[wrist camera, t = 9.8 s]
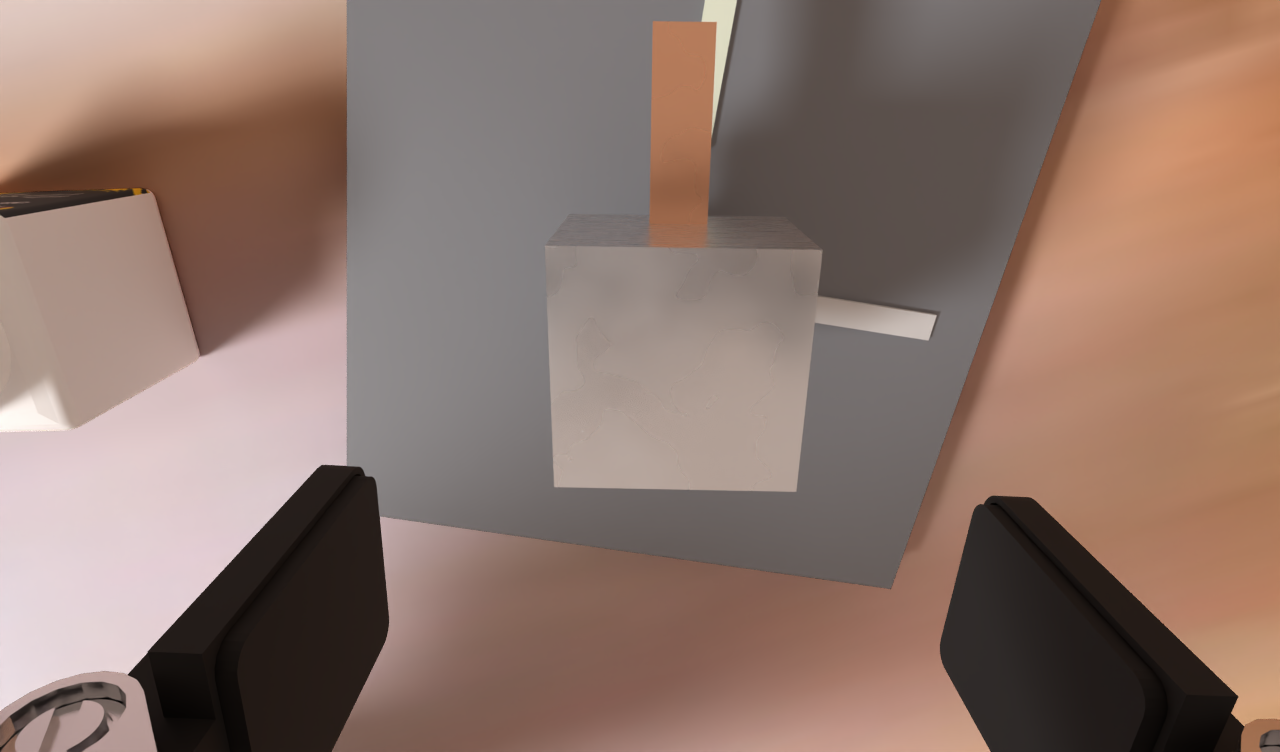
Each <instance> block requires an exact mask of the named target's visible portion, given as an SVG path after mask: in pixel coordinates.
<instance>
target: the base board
mask: <svg viewBox="0 0 1280 752" xmlns="http://www.w3.org/2000/svg"><path fill="white" fill-rule="evenodd" d="M1100 2H1101V0H347V466H357V467H361V468H362V469H363V471H364V473H365V476H372V477H373V478H374V479H375V481H376V485H377V494H378V505H379V516H381V517H388V518H395V519H402V520H409V521H416V522H423V523H430V524H437V525H444V526H451V527H458V528H465V529H472V530H479V531H486V532H493V533H500V534H507V535H514V536H521V537H528V538H535V539H542V540H549V541H556V542H563V543H570V544H577V545H584V546H591V547H599V548H606V549H613V550H620V551H627V552H634V553H641V554H648V555H655V556H662V557H669V558H676V559H683V560H690V561H697V562H704V563H711V564H718V565H725V566H732V567H739V568H746V569H753V570H760V571H767V572H774V573H781V574H788V575H795V576H802V577H809V578H816V579H823V580H831V581H838V582H845V583H852V584H859V585H866V586H873V587H880V588H887V589H891V587H892V584H893V582H894V579H895V576H896V573H897V570H898V568H899V565H900V562H901V559H902V556H903V554H904V551H905V548H906V545H907V542H908V540H909V537H910V534H911V531H912V528H913V526H914V523H915V520H916V517H917V514H918V512H919V509H920V506H921V503H922V500H923V498H924V495H925V492H926V489H927V486H928V484H929V481H930V478H931V475H932V472H933V470H934V467H935V464H936V461H937V458H938V456H939V453H940V450H941V447H942V444H943V442H944V439H945V436H946V433H947V430H948V428H949V425H950V422H951V419H952V416H953V414H954V411H955V408H956V405H957V402H958V400H959V397H960V394H961V391H962V388H963V386H964V383H965V380H966V377H967V374H968V372H969V369H970V366H971V363H972V360H973V358H974V355H975V352H976V349H977V346H978V344H979V341H980V338H981V335H982V332H983V330H984V327H985V324H986V321H987V318H988V316H989V313H990V310H991V307H992V304H993V302H994V299H995V296H996V293H997V290H998V288H999V285H1000V282H1001V279H1002V276H1003V274H1004V271H1005V268H1006V265H1007V262H1008V260H1009V257H1010V254H1011V251H1012V248H1013V246H1014V243H1015V240H1016V237H1017V234H1018V232H1019V229H1020V226H1021V223H1022V220H1023V218H1024V215H1025V212H1026V209H1027V206H1028V204H1029V201H1030V198H1031V195H1032V192H1033V190H1034V187H1035V184H1036V181H1037V178H1038V176H1039V173H1040V170H1041V167H1042V164H1043V162H1044V159H1045V156H1046V153H1047V150H1048V148H1049V145H1050V142H1051V139H1052V136H1053V134H1054V131H1055V128H1056V125H1057V122H1058V120H1059V117H1060V114H1061V111H1062V108H1063V106H1064V103H1065V100H1066V97H1067V94H1068V92H1069V89H1070V86H1071V83H1072V80H1073V78H1074V75H1075V72H1076V69H1077V66H1078V64H1079V61H1080V58H1081V55H1082V52H1083V50H1084V47H1085V44H1086V41H1087V38H1088V36H1089V33H1090V30H1091V27H1092V24H1093V22H1094V19H1095V16H1096V13H1097V10H1098V8H1099V5H1100ZM653 21H679V22H717V29H716V51H715V72H714V93H713V115H712V136H711V157H710V179H709V200H708V216H755V217H785V218H786V219H787V220H788V221H790V222H791V223H792V224H793V225H794V226H795V227H797V228H798V229H799V230H800V231H801V232H802V233H804V234H805V235H806V236H807V237H808V238H809V239H811V240H812V241H813V242H814V243H815V244H816V245H818V246H819V247H820V248H821V249H822V250H823V251H822V261H821V270H820V279H819V288H818V297H817V306H816V316H815V325H814V334H813V343H812V352H811V361H810V371H809V380H808V389H807V398H806V407H805V417H804V426H803V435H802V444H801V453H800V462H799V472H798V481H797V490H796V492H778V491H727V490H676V489H624V488H573V487H554V470H553V445H552V419H551V393H550V368H549V342H548V317H547V291H546V265H545V245H546V243H547V242H548V241H549V240H550V238H551V237H552V236H553V234H554V233H555V232H556V230H557V229H558V228H559V227H560V225H561V224H562V223H563V221H564V220H565V219H566V217H567V216H568V215H569V214H617V215H650V157H651V96H652V36H653Z"/></svg>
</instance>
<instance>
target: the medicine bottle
mask: <svg viewBox="0 0 1280 752" xmlns="http://www.w3.org/2000/svg"><path fill="white" fill-rule="evenodd" d="M199 356H200V353H199V349H198V346H197V342H196V339H195V335H194V332H193V328H192V325H191V321H190V318H189V314H188V311H187V307H186V304H185V300H184V297H183V293H182V290H181V286H180V283H179V279H178V276H177V272H176V269H175V265H174V262H173V258H172V255H171V251H170V248H169V244H168V241H167V237H166V234H165V230H164V227H163V223H162V220H161V216H160V212H159V209H158V205H157V202H156V198H155V196H154V194H153V193H152V192H151V191H150V190H148V189H143V188H127V189H99V190H71V191H43V192H15V193H0V432H23V431H63V430H72V429H75V428H78V427H80V426H82V425H83V424H85V423H87V422H89V421H91V420H92V419H94V418H96V417H98V416H99V415H101V414H103V413H105V412H107V411H108V410H110V409H112V408H114V407H115V406H117V405H119V404H121V403H123V402H124V401H126V400H128V399H130V398H132V397H133V396H135V395H137V394H139V393H140V392H142V391H144V390H146V389H148V388H149V387H151V386H153V385H155V384H156V383H158V382H160V381H162V380H164V379H165V378H167V377H169V376H171V375H173V374H174V373H176V372H178V371H180V370H181V369H183V368H185V367H187V366H189V365H190V364H192V363H194V362H196V360H197V359H198V358H199Z"/></svg>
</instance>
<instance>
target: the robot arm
mask: <svg viewBox="0 0 1280 752" xmlns="http://www.w3.org/2000/svg"><path fill="white" fill-rule="evenodd" d="M388 627H389V613H388V602H387V591H386V580H385V570H384V559H383V548H382V537H381V527H380V516H379V505H378V494H377V485H376V481H375V479H374V478H373V477H372V476H365V473H364V471H363V469H362V468H361V467H357V466H335V465H321V466H320V467H319V468H317V469H316V471H315V472H314V473H313V474H312V475H311V476H310V477H309V478H308V479H307V480H306V481H305V482H304V483H303V485H302V486H301V487H300V488H299V489H298V490H297V491H296V492H295V493H294V494H293V495H292V496H291V497H290V499H289V500H288V501H287V502H286V503H285V504H284V505H283V506H282V507H281V508H280V509H279V510H278V512H277V513H276V514H275V515H274V516H273V517H272V518H271V519H270V520H269V521H268V522H267V523H266V524H265V526H264V527H263V528H262V529H261V530H260V531H259V532H258V533H257V534H256V535H255V536H254V537H253V538H252V540H251V541H250V542H249V543H248V544H247V545H246V546H245V547H244V548H243V549H242V550H241V551H240V553H239V554H238V555H237V556H236V557H235V558H234V559H233V560H232V561H231V562H230V563H229V564H228V565H227V567H226V568H225V569H224V570H223V571H222V572H221V573H220V574H219V575H218V576H217V577H216V578H215V579H214V581H213V582H212V583H211V584H210V585H209V586H208V587H207V588H206V589H205V590H204V591H203V592H202V593H201V595H200V596H199V597H198V598H197V599H196V600H195V601H194V602H193V603H192V604H191V605H190V606H189V608H188V609H187V610H186V611H185V612H184V613H183V614H182V615H181V616H180V617H179V618H178V619H177V620H176V622H175V623H174V624H173V625H172V626H171V627H170V628H169V629H168V630H167V631H166V632H165V633H164V634H163V636H162V637H161V638H160V639H159V640H158V641H157V642H156V643H155V644H154V645H153V646H152V647H151V649H150V650H149V651H148V653H147V654H146V655H145V656H144V658H143V659H142V660H141V661H140V662H139V663H138V664H137V665H136V666H135V667H134V668H133V669H132V670H131V672H130V673H129V674H128V675H127V674H125V673H118V672H109V671H101V672H92V673H83V674H79V675H75V676H72V677H68V678H65V679H61V680H58V681H55V682H52V683H50V684H48V685H46V686H43V687H41V688H39V689H36V690H34V691H32V692H30V693H28V694H26V695H25V696H23V697H21V698H20V699H18V700H16V701H15V702H13V703H11V704H10V705H8V706H6V707H5V708H4V709H2V710H1V711H0V752H332V750H333V748H334V746H335V743H336V741H337V739H338V737H339V735H340V733H341V731H342V729H343V727H344V725H345V723H346V721H347V719H348V717H349V715H350V713H351V711H352V709H353V707H354V705H355V703H356V701H357V699H358V697H359V694H360V692H361V690H362V688H363V686H364V684H365V682H366V680H367V678H368V676H369V674H370V672H371V670H372V668H373V666H374V664H375V662H376V660H377V658H378V656H379V654H380V652H381V650H382V647H383V645H384V643H385V641H386V637H387V633H388ZM940 654H941V660H942V663H943V666H944V668H945V670H946V672H947V673H948V675H949V677H950V679H951V681H952V682H953V684H954V686H955V688H956V690H957V691H958V693H959V695H960V697H961V699H962V701H963V702H964V704H965V706H966V708H967V710H968V711H969V713H970V715H971V717H972V719H973V720H974V722H975V724H976V726H977V728H978V729H979V731H980V733H981V735H982V737H983V738H984V740H985V742H986V744H987V746H988V747H989V749H990V751H991V752H1280V720H1278V719H1256V720H1254V721H1252V722H1250V723H1248V724H1246V725H1245V727H1244V726H1243V725H1242V724H1241V723H1240V722H1239V721H1238V720H1237V719H1236V718H1235V717H1234V716H1233V715H1232V714H1231V712H1232V710H1233V707H1234V705H1235V703H1236V701H1237V699H1238V696H1237V695H1236V694H1235V693H1234V692H1233V691H1232V690H1231V689H1230V688H1229V687H1228V686H1227V685H1226V684H1225V683H1224V682H1223V681H1222V680H1221V679H1220V678H1218V677H1217V676H1216V675H1215V674H1214V673H1213V672H1212V671H1211V670H1210V669H1209V668H1208V667H1207V666H1206V665H1205V664H1204V663H1203V662H1202V661H1201V660H1200V659H1199V658H1198V657H1197V656H1196V655H1195V654H1194V653H1193V652H1192V651H1191V650H1189V649H1188V648H1187V647H1186V646H1185V645H1184V644H1183V643H1182V642H1181V641H1180V640H1179V639H1178V638H1177V637H1176V636H1175V635H1174V634H1173V633H1172V632H1171V631H1170V630H1169V629H1168V628H1167V627H1166V626H1165V625H1164V624H1163V623H1162V622H1160V621H1159V620H1158V619H1157V618H1156V617H1155V616H1154V615H1153V614H1152V613H1151V612H1150V611H1149V610H1148V609H1147V608H1146V607H1145V606H1144V605H1143V604H1142V603H1141V602H1140V601H1139V600H1138V599H1137V598H1136V597H1135V596H1134V595H1133V594H1132V593H1130V592H1129V591H1128V590H1127V589H1126V588H1125V587H1124V586H1123V585H1122V584H1121V583H1120V582H1119V581H1118V580H1117V579H1116V578H1115V577H1114V576H1113V575H1112V574H1111V573H1110V572H1109V571H1108V570H1107V569H1106V568H1105V567H1104V566H1103V565H1101V564H1100V563H1099V562H1098V561H1097V560H1096V559H1095V558H1094V557H1093V556H1092V555H1091V554H1090V553H1089V552H1088V551H1087V550H1086V549H1085V548H1084V547H1083V546H1082V545H1081V544H1080V543H1079V542H1078V541H1077V540H1076V539H1075V538H1074V537H1073V536H1071V535H1070V534H1069V533H1068V532H1067V531H1066V530H1065V529H1064V528H1063V527H1062V526H1061V525H1060V524H1059V523H1058V522H1057V521H1056V520H1055V519H1054V518H1053V517H1052V516H1051V515H1050V514H1049V513H1048V512H1047V511H1046V510H1045V509H1044V508H1042V507H1041V506H1040V505H1039V504H1038V503H1037V502H1036V501H1035V500H1033V499H1032V498H1028V497H1010V496H991V497H989V498H988V499H987V500H986V501H985V503H984V504H980V505H978V506H977V507H976V508H975V509H974V512H973V515H972V519H971V523H970V526H969V530H968V534H967V538H966V542H965V546H964V550H963V554H962V558H961V562H960V566H959V570H958V574H957V578H956V582H955V586H954V590H953V594H952V598H951V602H950V606H949V609H948V613H947V617H946V621H945V625H944V629H943V633H942V637H941V642H940Z"/></svg>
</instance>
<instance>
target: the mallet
mask: <svg viewBox="0 0 1280 752" xmlns="http://www.w3.org/2000/svg"><path fill="white" fill-rule="evenodd" d="M716 29H717V22H679V21H653V36H652V96H651V157H650V215H617V214H569V215H568V216H567V217H566V219H565V220H564V221H563V223H562V224H561V225H560V227H559V228H558V229H557V230H556V232H555V233H554V234H553V236H552V237H551V238H550V240H549V241H548V242H547V243H546V245H545V265H546V291H547V317H548V342H549V368H550V393H551V419H552V445H553V470H554V487H573V488H624V489H676V490H727V491H778V492H796V490H797V481H798V472H799V462H800V453H801V444H802V435H803V426H804V417H805V407H806V398H807V389H808V380H809V371H810V361H811V352H812V343H813V334H814V325H815V316H816V306H817V297H818V288H819V279H820V270H821V261H822V251H823V250H822V249H821V248H820V247H819V246H818V245H816V244H815V243H814V242H813V241H812V240H811V239H809V238H808V237H807V236H806V235H805V234H804V233H802V232H801V231H800V230H799V229H798V228H797V227H795V226H794V225H793V224H792V223H791V222H790V221H788V220H787V219H786V218H785V217H755V216H708V200H709V179H710V157H711V136H712V115H713V93H714V72H715V51H716Z"/></svg>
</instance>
